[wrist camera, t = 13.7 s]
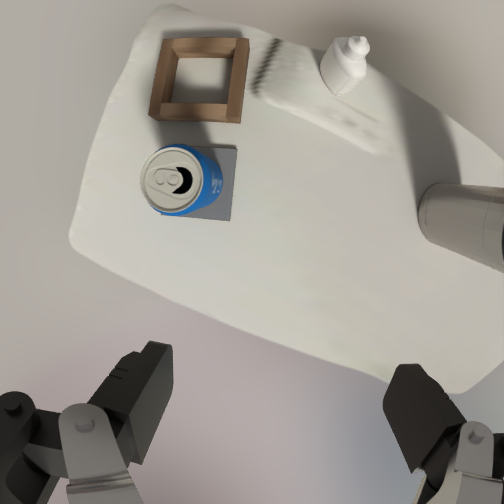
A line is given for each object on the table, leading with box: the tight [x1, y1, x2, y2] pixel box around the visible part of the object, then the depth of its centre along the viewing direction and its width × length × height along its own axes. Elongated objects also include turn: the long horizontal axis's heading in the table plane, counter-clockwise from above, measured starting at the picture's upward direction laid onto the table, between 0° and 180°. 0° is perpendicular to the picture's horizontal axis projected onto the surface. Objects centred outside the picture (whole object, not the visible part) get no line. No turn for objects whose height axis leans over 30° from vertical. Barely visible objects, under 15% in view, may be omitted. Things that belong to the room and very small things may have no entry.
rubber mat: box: [161, 146, 237, 221], centre depth 35 cm, size 9×9×1 cm
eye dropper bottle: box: [320, 36, 370, 95], centre depth 26 cm, size 4×6×12 cm
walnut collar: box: [148, 37, 250, 123], centre depth 30 cm, size 11×11×4 cm
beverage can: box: [140, 144, 223, 216], centre depth 29 cm, size 6×6×12 cm
